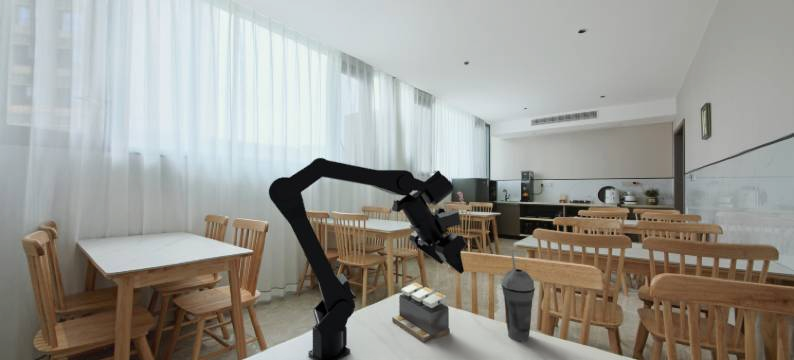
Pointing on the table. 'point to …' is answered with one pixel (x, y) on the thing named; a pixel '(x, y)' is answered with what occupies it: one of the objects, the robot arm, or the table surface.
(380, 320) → the table surface
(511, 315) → the beverage cup
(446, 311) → the switch unit
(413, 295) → the rocker mid
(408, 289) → the rocker left
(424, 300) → the rocker right
